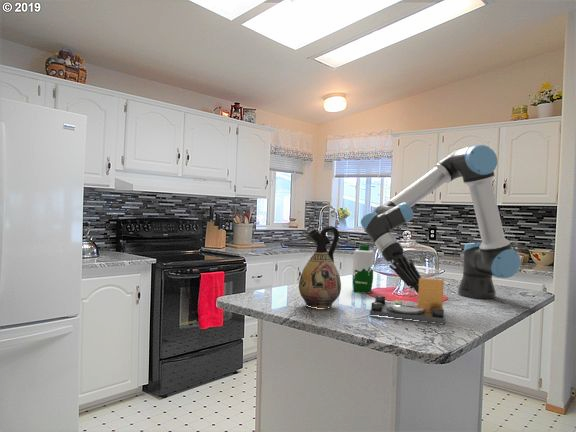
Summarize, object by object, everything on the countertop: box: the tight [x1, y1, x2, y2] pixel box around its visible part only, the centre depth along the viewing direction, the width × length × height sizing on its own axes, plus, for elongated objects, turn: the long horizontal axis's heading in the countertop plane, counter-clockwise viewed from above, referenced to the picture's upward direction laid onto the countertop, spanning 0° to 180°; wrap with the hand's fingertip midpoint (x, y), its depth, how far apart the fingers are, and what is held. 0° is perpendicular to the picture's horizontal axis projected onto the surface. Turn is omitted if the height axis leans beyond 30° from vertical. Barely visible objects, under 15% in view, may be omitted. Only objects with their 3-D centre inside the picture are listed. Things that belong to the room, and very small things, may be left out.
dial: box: [386, 277, 445, 314], centre depth 152 cm, size 18×13×11 cm
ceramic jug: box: [298, 225, 342, 309], centre depth 161 cm, size 17×15×30 cm
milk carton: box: [352, 244, 375, 293], centre depth 193 cm, size 9×9×20 cm
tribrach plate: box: [369, 294, 446, 324], centre depth 154 cm, size 24×17×4 cm
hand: (428, 300), depth 153 cm, fingers closed
